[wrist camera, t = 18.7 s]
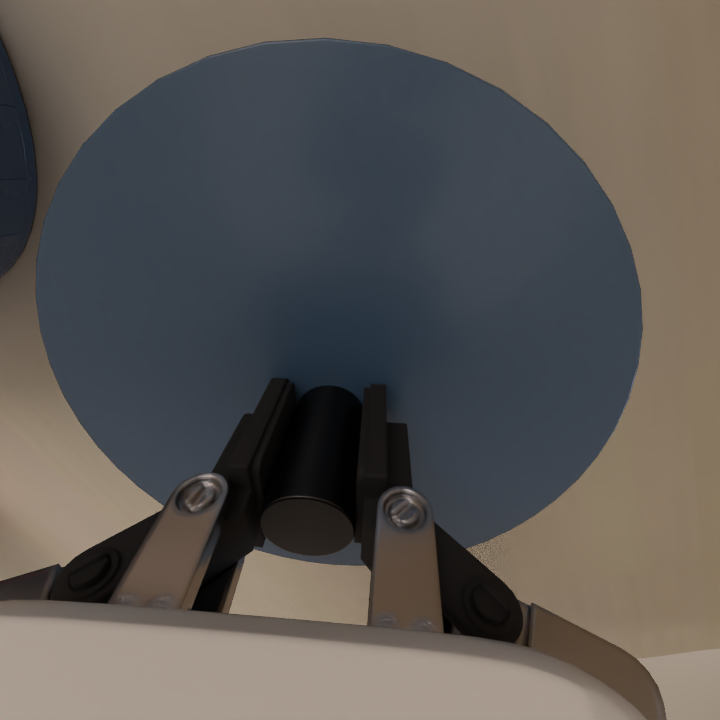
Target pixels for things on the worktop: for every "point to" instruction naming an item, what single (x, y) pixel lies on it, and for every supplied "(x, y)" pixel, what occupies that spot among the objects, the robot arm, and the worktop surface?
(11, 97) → the pot
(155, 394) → the lid
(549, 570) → the worktop surface
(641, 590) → the worktop surface
